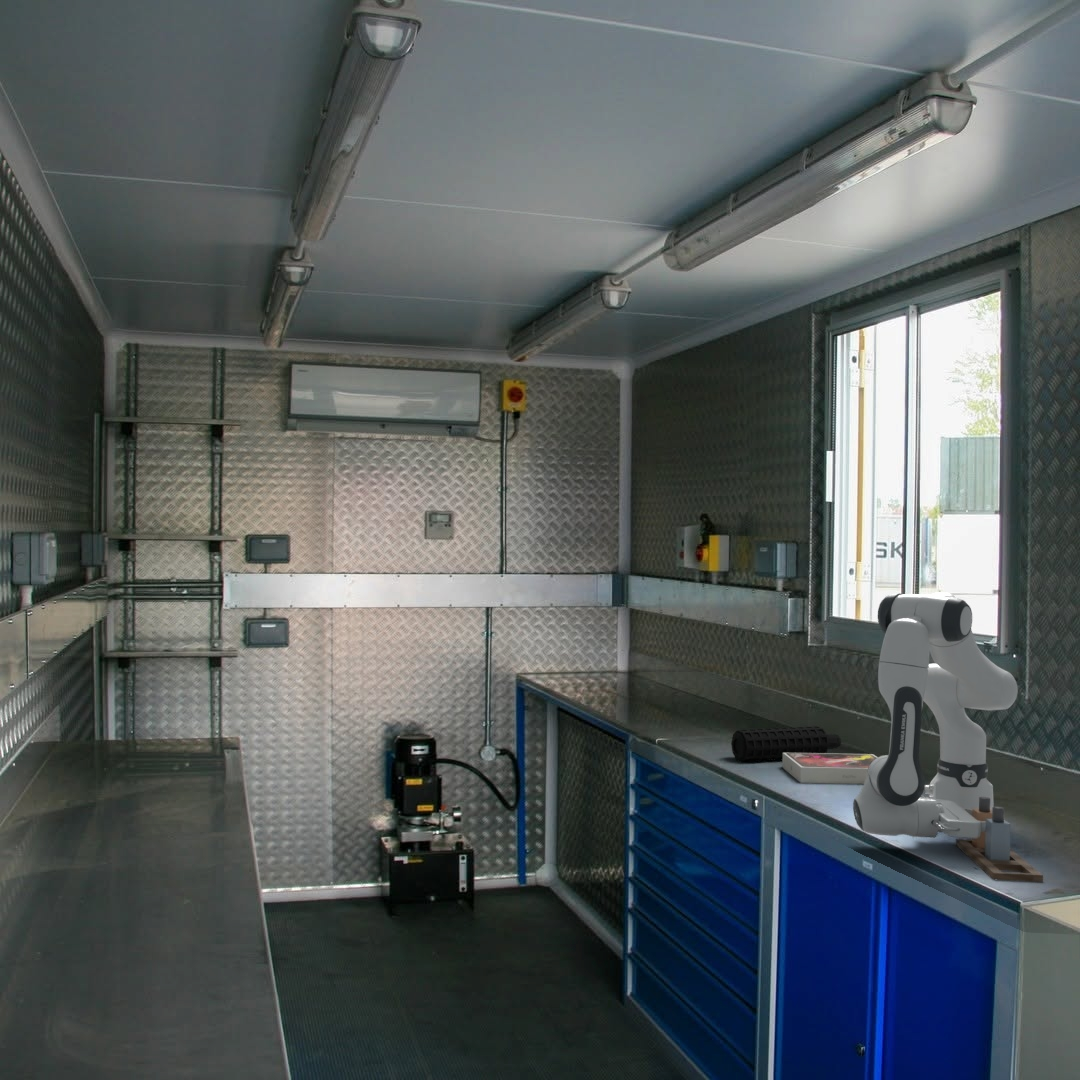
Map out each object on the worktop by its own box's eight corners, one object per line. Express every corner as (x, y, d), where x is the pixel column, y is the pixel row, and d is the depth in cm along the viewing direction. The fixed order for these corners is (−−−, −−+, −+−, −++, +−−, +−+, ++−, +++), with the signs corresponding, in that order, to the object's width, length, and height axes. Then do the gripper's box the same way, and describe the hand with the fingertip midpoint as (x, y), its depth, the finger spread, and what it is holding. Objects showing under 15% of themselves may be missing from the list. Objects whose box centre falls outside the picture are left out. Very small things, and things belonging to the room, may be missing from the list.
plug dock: (955, 845, 254) (956, 839, 254) (1000, 847, 254) (1000, 840, 254) (993, 880, 228) (993, 873, 228) (1042, 882, 228) (1043, 875, 228)
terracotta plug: (971, 847, 252) (972, 795, 252) (989, 848, 252) (990, 796, 252) (977, 852, 248) (978, 799, 248) (995, 853, 248) (996, 800, 248)
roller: (827, 747, 365) (833, 720, 362) (843, 761, 356) (850, 734, 353) (726, 752, 352) (732, 724, 349) (741, 767, 343) (747, 739, 340)
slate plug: (984, 858, 243) (985, 805, 243) (1003, 859, 243) (1004, 805, 243) (990, 864, 239) (992, 809, 239) (1009, 865, 239) (1010, 810, 239)
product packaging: (782, 768, 339) (782, 752, 339) (872, 770, 339) (872, 754, 339) (800, 784, 317) (801, 767, 317) (896, 786, 318) (897, 769, 318)
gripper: (939, 815, 241) (1004, 817, 240) (915, 793, 261) (974, 795, 260) (939, 843, 241) (1003, 846, 240) (914, 819, 261) (973, 822, 260)
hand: (988, 820), depth 250 cm, fingers open, 8 cm apart
